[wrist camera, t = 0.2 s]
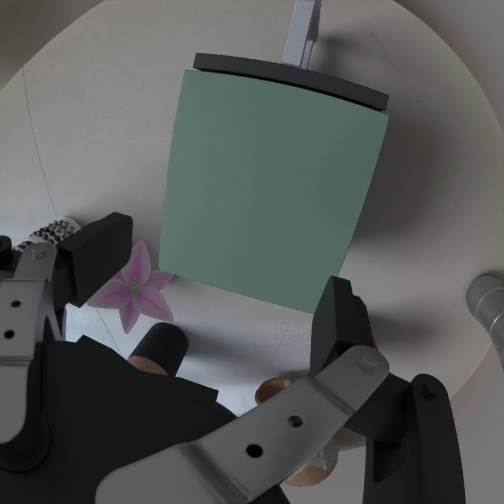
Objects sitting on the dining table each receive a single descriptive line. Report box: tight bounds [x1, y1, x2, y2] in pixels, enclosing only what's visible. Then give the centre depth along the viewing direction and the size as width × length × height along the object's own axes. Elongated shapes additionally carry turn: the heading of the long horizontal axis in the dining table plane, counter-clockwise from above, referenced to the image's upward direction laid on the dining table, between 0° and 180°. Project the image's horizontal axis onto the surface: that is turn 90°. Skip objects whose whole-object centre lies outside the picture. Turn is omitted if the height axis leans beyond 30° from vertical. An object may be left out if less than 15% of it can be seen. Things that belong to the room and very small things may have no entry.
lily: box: [87, 239, 174, 334], centre depth 39 cm, size 12×12×10 cm
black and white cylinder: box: [12, 217, 81, 252], centre depth 32 cm, size 9×9×25 cm
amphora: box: [255, 377, 338, 487], centre depth 45 cm, size 14×16×30 cm
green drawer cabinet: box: [159, 70, 390, 314], centre depth 26 cm, size 16×14×14 cm
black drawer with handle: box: [193, 0, 389, 112], centre depth 23 cm, size 22×14×15 cm, turn 168°
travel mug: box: [127, 323, 188, 377], centre depth 38 cm, size 8×8×20 cm
